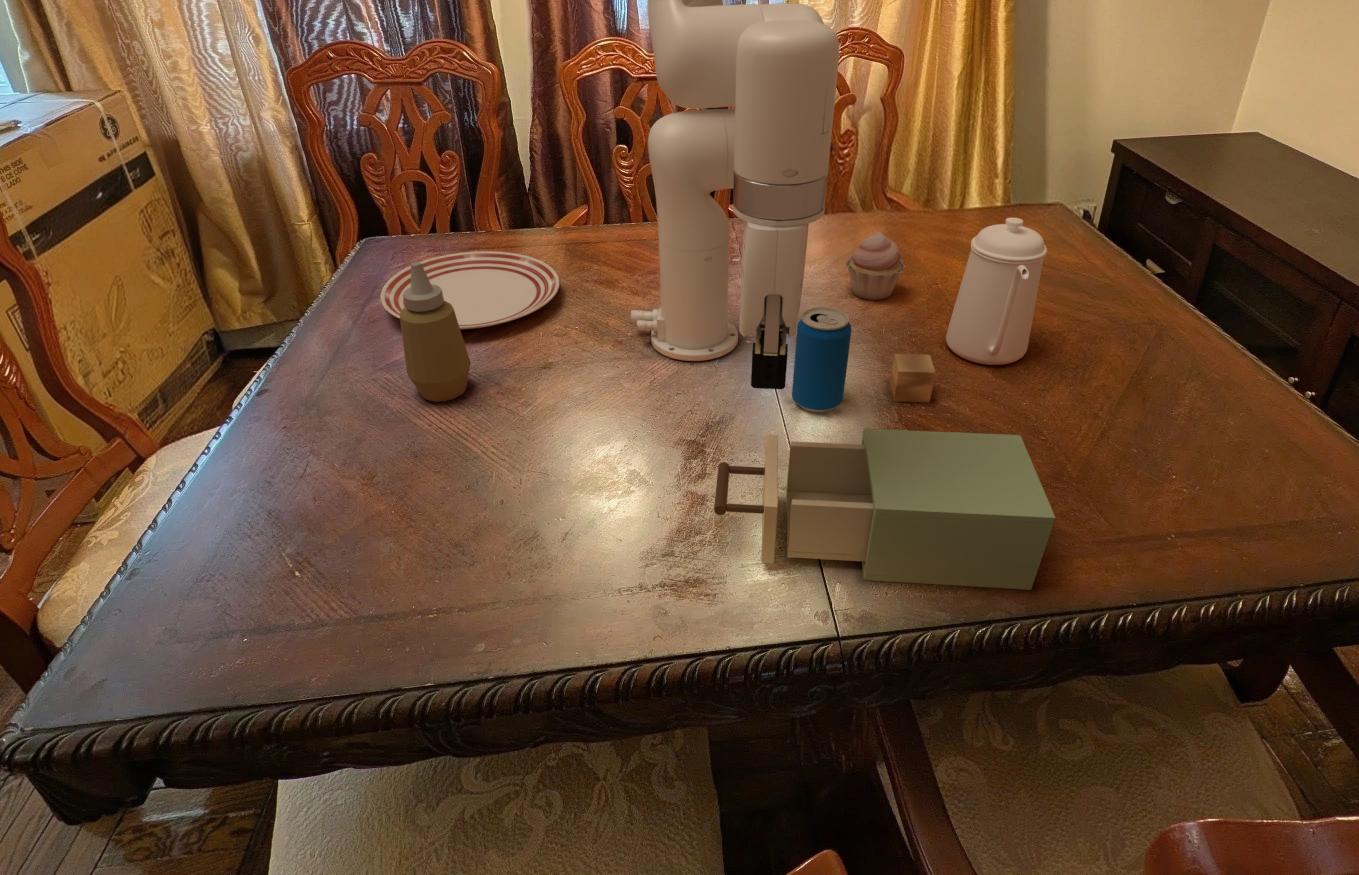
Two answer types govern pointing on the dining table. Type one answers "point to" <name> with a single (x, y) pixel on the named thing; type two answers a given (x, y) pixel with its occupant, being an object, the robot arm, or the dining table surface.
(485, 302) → the dinner plate
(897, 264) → the cupcake
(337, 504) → the dining table surface
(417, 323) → the squeeze bottle
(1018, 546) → the cabinet
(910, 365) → the block
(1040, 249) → the coffeepot
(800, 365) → the beverage can
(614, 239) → the dining table surface
